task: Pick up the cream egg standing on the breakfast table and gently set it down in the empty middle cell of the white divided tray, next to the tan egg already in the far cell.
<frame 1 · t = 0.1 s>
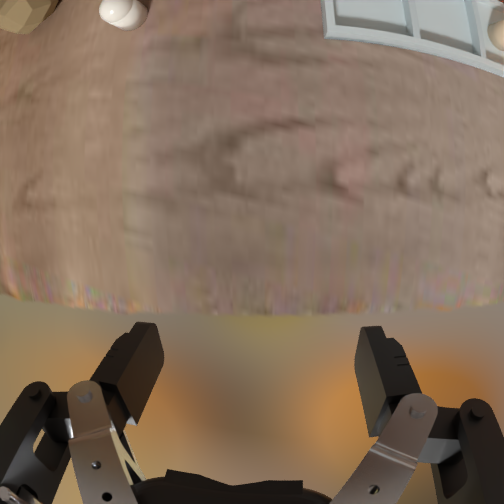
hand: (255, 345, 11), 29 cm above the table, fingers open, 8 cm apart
cream egg: (132, 17, 30), on the table
low-poly potato: (41, 9, 28), on the table
white divided tray: (438, 17, 26), on the table
tan egg: (498, 37, 24), point 1 cm above the table, touching white divided tray
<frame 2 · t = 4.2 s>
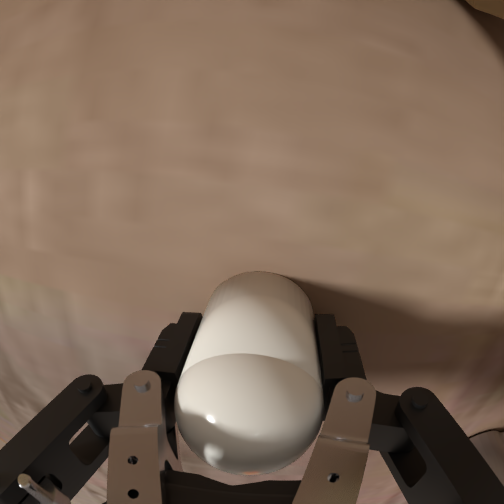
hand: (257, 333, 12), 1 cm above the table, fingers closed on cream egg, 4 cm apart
cream egg: (259, 319, 13), on the table, touching gripper
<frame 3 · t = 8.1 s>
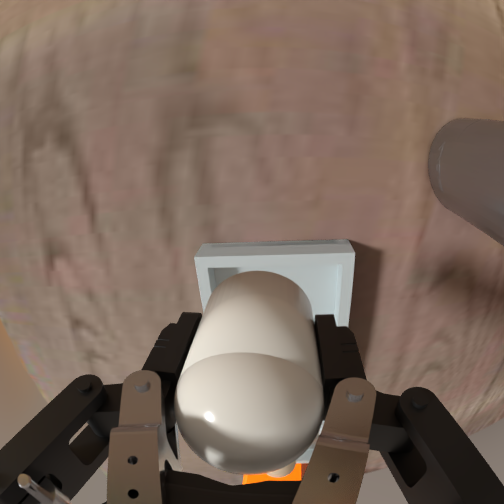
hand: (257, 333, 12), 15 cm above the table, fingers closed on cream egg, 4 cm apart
cream egg: (259, 318, 13), point 14 cm above the table, touching gripper
white divided tray: (279, 378, 33), on the table
orange juice: (271, 467, 44), on the table
tan egg: (279, 434, 37), point 1 cm above the table, touching white divided tray
when the fingers open (3 cm above the table, at t = 12.1 s): cream egg drops 1 cm, resting on white divided tray.
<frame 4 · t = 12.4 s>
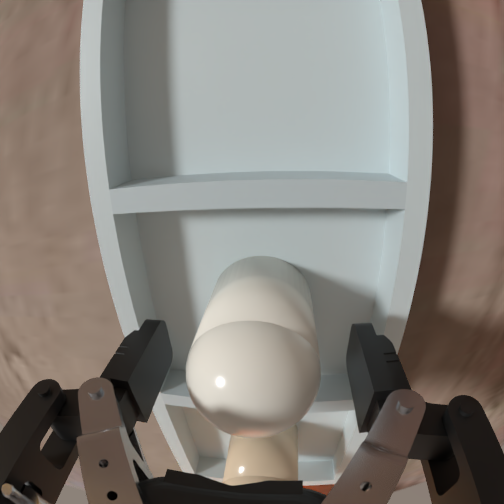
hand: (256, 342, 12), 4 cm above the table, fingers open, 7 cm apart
cream egg: (262, 300, 14), point 1 cm above the table, touching white divided tray
white divided tray: (262, 290, 15), on the table
tan egg: (264, 431, 19), point 1 cm above the table, touching white divided tray
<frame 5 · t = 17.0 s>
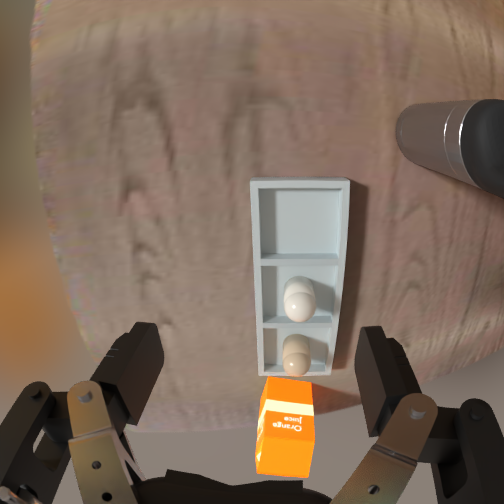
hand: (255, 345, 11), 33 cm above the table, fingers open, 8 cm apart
cream egg: (298, 289, 47), point 1 cm above the table, touching white divided tray
white divided tray: (298, 286, 48), on the table
orange juice: (285, 390, 58), on the table
tan egg: (295, 344, 51), point 1 cm above the table, touching white divided tray
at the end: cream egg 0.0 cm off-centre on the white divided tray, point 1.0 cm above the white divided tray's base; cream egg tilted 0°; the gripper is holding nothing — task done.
